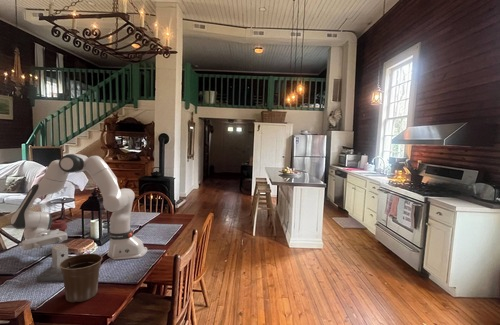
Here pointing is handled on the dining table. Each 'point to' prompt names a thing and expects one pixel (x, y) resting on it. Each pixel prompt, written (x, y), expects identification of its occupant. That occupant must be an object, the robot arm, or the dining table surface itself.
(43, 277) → the steel plate
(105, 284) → the dining table surface
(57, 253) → the off-white rectangular block
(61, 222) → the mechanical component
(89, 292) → the plant pot
